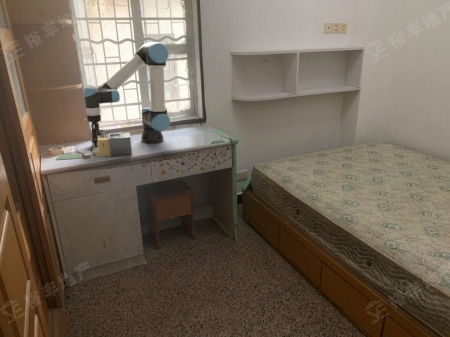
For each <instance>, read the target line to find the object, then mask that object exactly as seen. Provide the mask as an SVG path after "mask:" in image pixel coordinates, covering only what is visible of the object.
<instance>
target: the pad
mask: <svg viewBox="0 0 450 337" xmlns="http://www.w3.org/2000/svg"><path fill="white" fill-rule="evenodd" d="M82 158H83V156H82V154H80V153H78V152H77V153H67V154H66V153H65V154H58V156H57V157H56V159H55V161H63V160H76V159H82Z"/></svg>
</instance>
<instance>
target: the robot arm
mask: <svg viewBox="0 0 450 337" xmlns="http://www.w3.org/2000/svg"><path fill="white" fill-rule="evenodd" d="M168 58H169V49H168V48H167V46H166V45H165V44H164V43H161V42H158V41H148V42H146V43H144V44H143V45H142V46H141V47H139V49H138V50H137V51H135V52H134V53H133V57H131V59H129V61H127V62H126V63H125V64H124V65H123V66H122V67H121V68H120V69H119V70H117V72H116V73H115V74H113V75H112V76H111V77H110V78H109V79H108V80H107V81H105V83H104V84H103V85H102V86H98V87H95V86H90V87H89V86H88V87H84V89H83V94H84V95H83V96H84V103H85V109H84V111H85V112H86V119H87V122H89V123H91V125H90V127H91V131H92V139H93V141H92V139H91V143H92V142H93V145H94V147H93V151H94V153H97V152H99V144H98V138H100V135H101V133H100V130H101V129H100V124H99V122H101V121H102V116H101V109H100V104H110V103H112V104H114V103H119V102H120V98H121V96H120V91H119V89H120V87H122V86H123V84H125V83H126V82H127V81H128V80H129V79H131V77H133V76H134V74H136V72H138V70H140V69H141V68H142V67H145V66H147V68H149V86H150V90H149V91H150V106H149V107H143V108H142V109H141V121H142V133H141V137H140V138H141V142H142V143H144V144H158V143H161V142H163V141H164V136H163V135H164V134H163V133H162V132H164V131H166V130H167V129H168V128H169V127H170V125H171V118H170V117H169V115H168V108H167V107H166V103H165V75H164V74H165V73H164V71H165V67H166V66H167V60H168ZM95 139H96V140H95Z"/></svg>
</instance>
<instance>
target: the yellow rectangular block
mask: <svg viewBox="0 0 450 337" xmlns="http://www.w3.org/2000/svg"><path fill="white" fill-rule="evenodd" d="M95 140H96V139H95ZM98 144H99V152H97V153H95V152H94V153H95V154H94V155H95V157H111V152H110V144H109V140H108V137H105V138H98Z"/></svg>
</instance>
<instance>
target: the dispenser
mask: <svg viewBox="0 0 450 337" xmlns="http://www.w3.org/2000/svg"><path fill="white" fill-rule="evenodd" d="M107 138H108V140H109V144H110V152H111V155H110V157H111V158H116V157H132V156H133V155H132V151H133V150H132V140H131V139H132V137H131V132H115V133H114V132H112V133H111V132H110V133H109V134H108V137H107ZM131 155H132V156H131Z"/></svg>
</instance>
